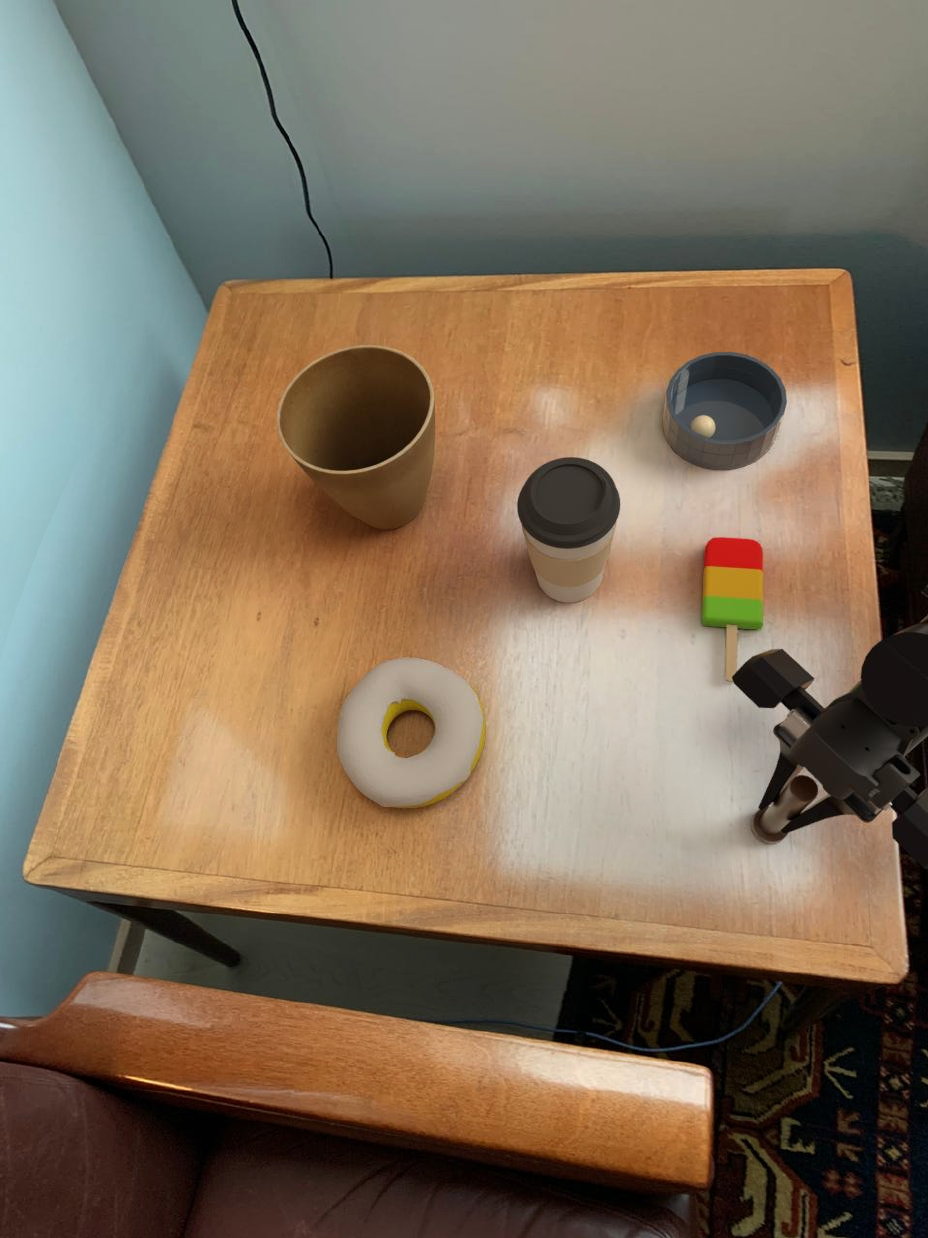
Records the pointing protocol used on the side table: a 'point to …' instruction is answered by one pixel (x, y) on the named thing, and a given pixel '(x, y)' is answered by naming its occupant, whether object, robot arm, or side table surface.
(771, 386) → the bowl
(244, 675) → the side table surface
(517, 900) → the side table surface
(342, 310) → the side table surface
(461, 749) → the donut
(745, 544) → the popsicle
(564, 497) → the coffee cup
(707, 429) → the ball
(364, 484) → the plant pot
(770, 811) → the stirring stick
